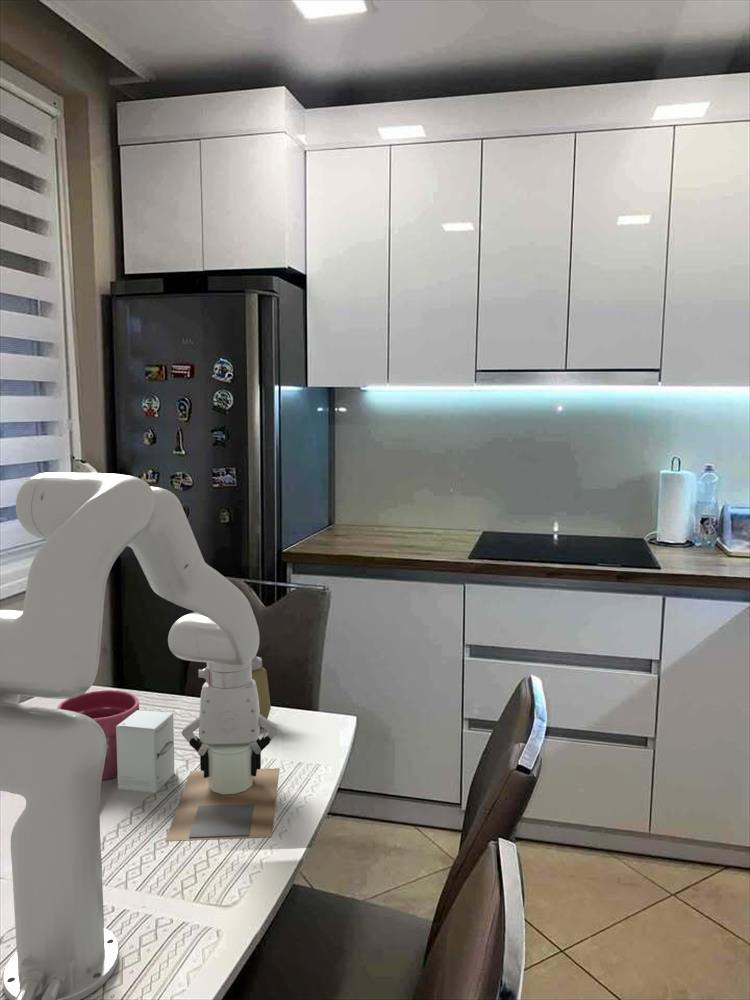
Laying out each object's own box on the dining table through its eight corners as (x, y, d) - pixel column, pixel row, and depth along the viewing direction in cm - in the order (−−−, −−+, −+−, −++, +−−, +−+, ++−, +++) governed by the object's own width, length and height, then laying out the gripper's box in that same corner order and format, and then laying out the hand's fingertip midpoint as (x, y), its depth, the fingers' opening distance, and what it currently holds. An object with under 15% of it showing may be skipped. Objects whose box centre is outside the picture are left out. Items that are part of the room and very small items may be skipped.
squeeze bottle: (225, 730, 153) (223, 646, 151) (243, 715, 161) (241, 635, 159) (260, 735, 151) (259, 650, 149) (277, 720, 158) (276, 638, 156)
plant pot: (156, 759, 140) (154, 694, 139) (106, 795, 127) (103, 724, 125) (95, 747, 145) (93, 685, 143) (41, 780, 132) (37, 712, 130)
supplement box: (156, 800, 125) (154, 729, 124) (116, 795, 127) (114, 725, 125) (176, 779, 133) (174, 712, 131) (138, 775, 134) (136, 708, 133)
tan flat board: (271, 844, 113) (271, 835, 112) (165, 848, 111) (164, 839, 111) (279, 774, 134) (279, 767, 134) (190, 777, 133) (190, 770, 133)
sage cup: (250, 793, 125) (250, 751, 124) (206, 794, 124) (205, 752, 124) (254, 772, 132) (254, 732, 132) (212, 773, 132) (211, 733, 131)
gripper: (173, 684, 122) (176, 785, 124) (279, 682, 123) (280, 782, 125) (182, 669, 129) (184, 764, 131) (281, 667, 131) (282, 762, 133)
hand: (231, 772), depth 128 cm, fingers closed on sage cup, 7 cm apart
